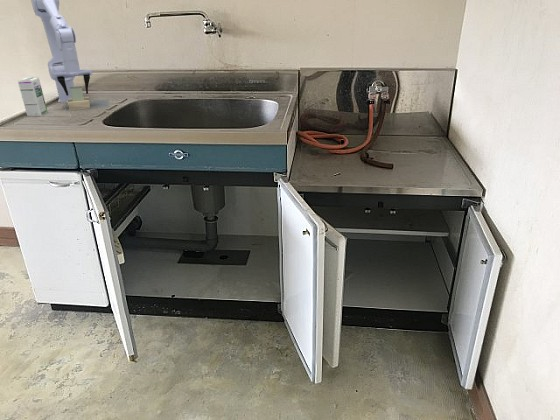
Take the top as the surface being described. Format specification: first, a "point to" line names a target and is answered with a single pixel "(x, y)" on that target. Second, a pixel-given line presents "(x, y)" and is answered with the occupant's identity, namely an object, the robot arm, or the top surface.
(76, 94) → the sage block
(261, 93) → the top surface
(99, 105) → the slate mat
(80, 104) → the oak base
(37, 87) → the syrup box
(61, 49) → the robot arm
